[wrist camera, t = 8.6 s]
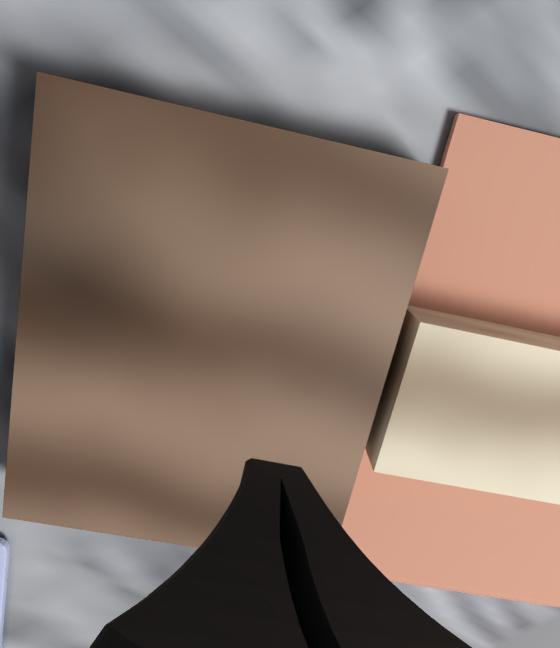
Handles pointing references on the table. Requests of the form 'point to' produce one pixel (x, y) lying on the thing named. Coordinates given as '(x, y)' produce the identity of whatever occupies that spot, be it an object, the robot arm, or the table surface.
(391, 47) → the table surface
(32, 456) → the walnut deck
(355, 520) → the terracotta mat
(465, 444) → the birch tile
